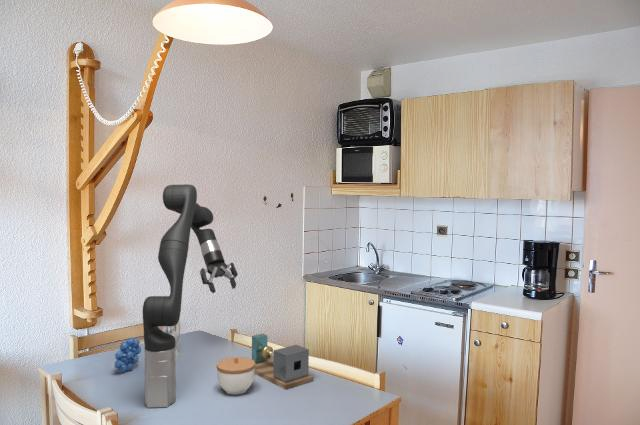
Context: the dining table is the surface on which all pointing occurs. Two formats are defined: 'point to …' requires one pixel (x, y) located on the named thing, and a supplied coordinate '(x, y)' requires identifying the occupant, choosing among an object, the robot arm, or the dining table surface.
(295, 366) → the block
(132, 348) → the grapes
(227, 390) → the lidded bowl
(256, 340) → the shaft
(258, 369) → the base board
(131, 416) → the dining table surface
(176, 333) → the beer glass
